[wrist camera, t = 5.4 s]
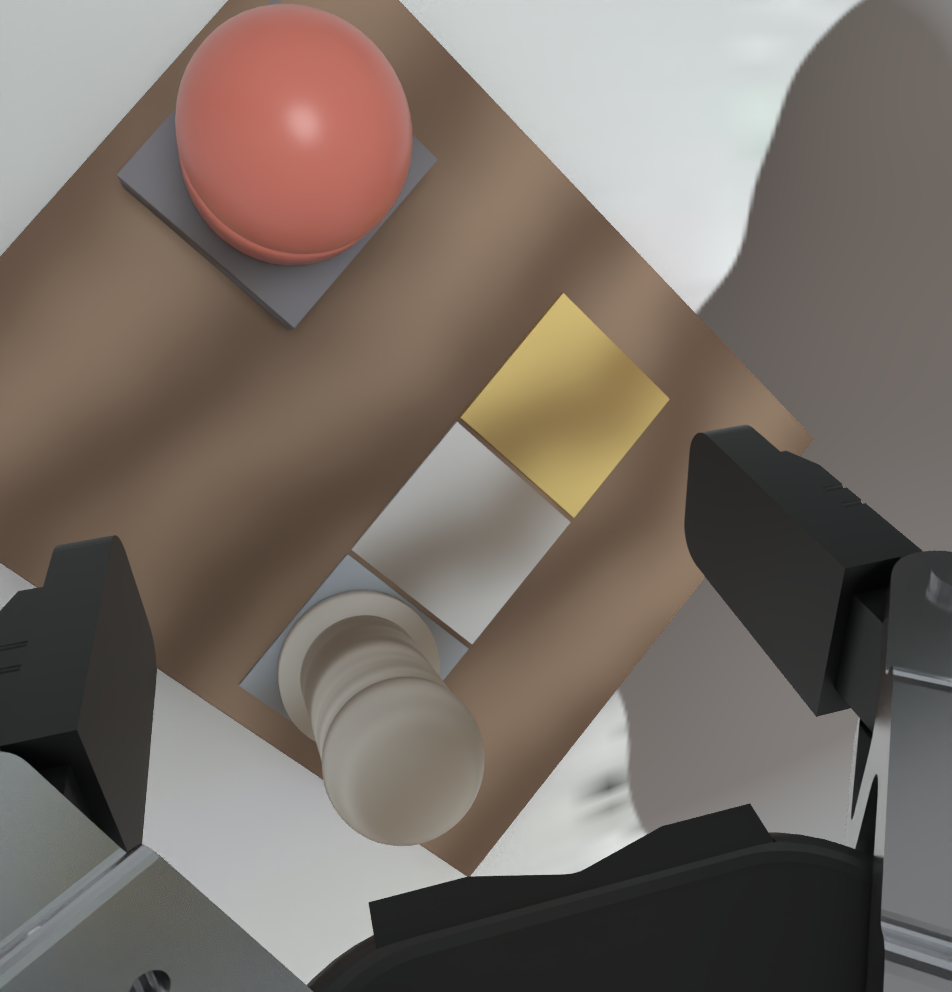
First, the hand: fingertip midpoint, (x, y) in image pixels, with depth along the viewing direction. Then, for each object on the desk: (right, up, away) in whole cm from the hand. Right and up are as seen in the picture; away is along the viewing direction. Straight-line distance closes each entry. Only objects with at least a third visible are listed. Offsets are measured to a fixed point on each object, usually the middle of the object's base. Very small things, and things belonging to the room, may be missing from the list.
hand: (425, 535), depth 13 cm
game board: (-2, +3, +19) cm, 20 cm away
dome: (-5, +10, +14) cm, 18 cm away
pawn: (-3, -6, +19) cm, 20 cm away
